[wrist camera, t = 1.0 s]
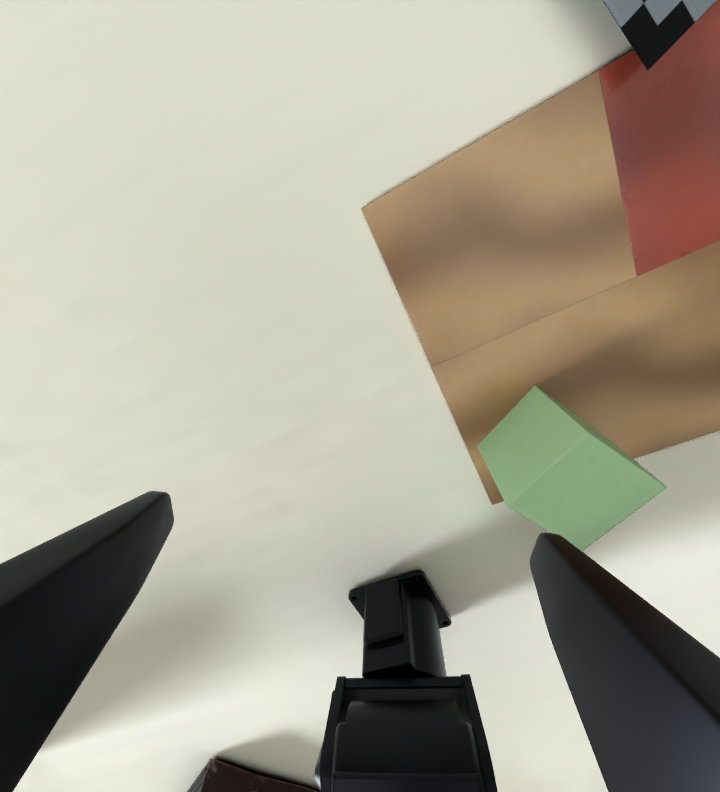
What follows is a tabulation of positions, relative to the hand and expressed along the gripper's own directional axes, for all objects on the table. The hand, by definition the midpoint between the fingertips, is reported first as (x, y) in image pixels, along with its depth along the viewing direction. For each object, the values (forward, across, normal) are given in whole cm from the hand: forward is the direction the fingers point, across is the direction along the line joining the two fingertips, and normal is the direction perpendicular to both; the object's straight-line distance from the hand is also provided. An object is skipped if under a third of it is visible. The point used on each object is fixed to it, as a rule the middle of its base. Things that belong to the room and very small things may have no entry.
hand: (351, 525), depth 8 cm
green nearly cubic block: (+12, -11, +3) cm, 17 cm away
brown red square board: (+12, -13, -5) cm, 18 cm away
